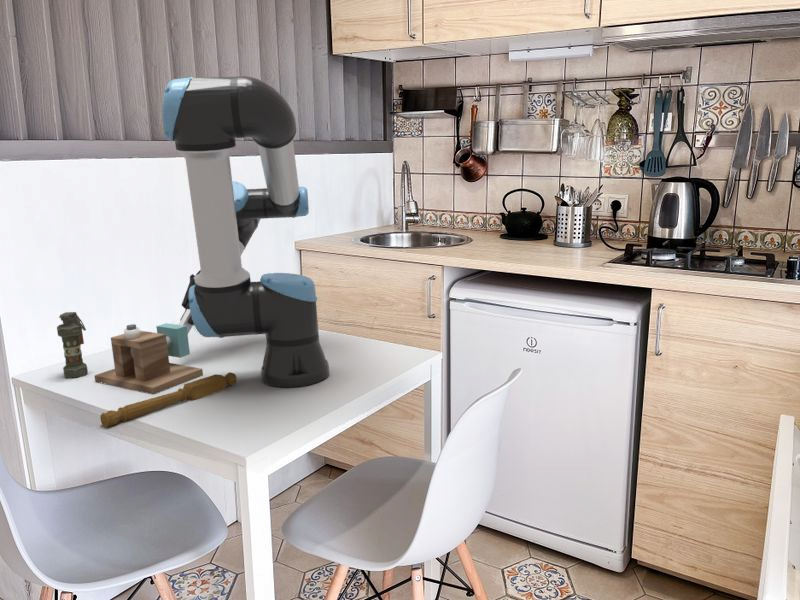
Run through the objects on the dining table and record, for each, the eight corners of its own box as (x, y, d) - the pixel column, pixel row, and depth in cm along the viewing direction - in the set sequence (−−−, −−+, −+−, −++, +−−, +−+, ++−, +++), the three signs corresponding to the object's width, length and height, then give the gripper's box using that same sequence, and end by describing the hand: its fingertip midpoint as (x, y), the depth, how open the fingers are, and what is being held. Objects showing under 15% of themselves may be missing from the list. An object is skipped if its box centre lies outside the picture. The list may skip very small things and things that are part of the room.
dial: (143, 336, 151) (141, 324, 151) (131, 340, 149) (129, 327, 148) (133, 335, 153) (132, 323, 152) (121, 338, 150) (120, 326, 150)
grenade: (85, 377, 158) (76, 315, 155) (59, 378, 158) (49, 316, 155) (98, 369, 164) (89, 309, 161) (72, 370, 164) (63, 310, 161)
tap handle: (98, 411, 128) (230, 369, 150) (100, 426, 129) (232, 382, 151) (106, 415, 126) (238, 371, 148) (108, 430, 127) (240, 385, 149)
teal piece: (189, 354, 161) (186, 325, 159) (146, 369, 150) (142, 339, 149) (169, 351, 164) (166, 323, 163) (126, 365, 154) (122, 336, 153)
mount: (203, 374, 156) (198, 331, 154) (153, 394, 145) (147, 347, 142) (145, 364, 166) (140, 323, 164) (95, 381, 155) (88, 337, 153)
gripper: (250, 265, 173) (208, 345, 163) (214, 263, 180) (171, 339, 169) (233, 248, 167) (189, 329, 157) (197, 246, 174) (151, 324, 164)
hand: (180, 334), depth 163 cm, fingers closed
